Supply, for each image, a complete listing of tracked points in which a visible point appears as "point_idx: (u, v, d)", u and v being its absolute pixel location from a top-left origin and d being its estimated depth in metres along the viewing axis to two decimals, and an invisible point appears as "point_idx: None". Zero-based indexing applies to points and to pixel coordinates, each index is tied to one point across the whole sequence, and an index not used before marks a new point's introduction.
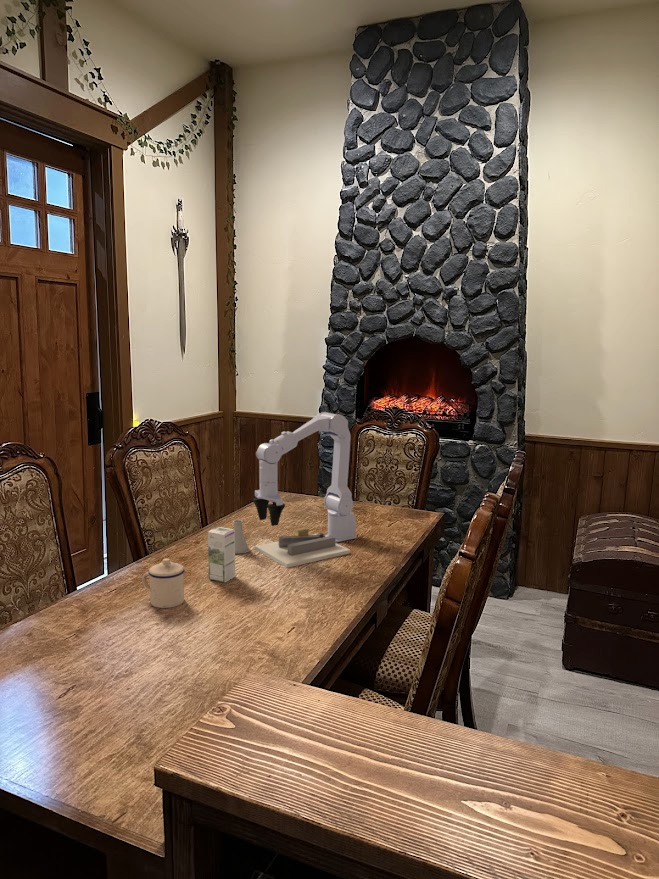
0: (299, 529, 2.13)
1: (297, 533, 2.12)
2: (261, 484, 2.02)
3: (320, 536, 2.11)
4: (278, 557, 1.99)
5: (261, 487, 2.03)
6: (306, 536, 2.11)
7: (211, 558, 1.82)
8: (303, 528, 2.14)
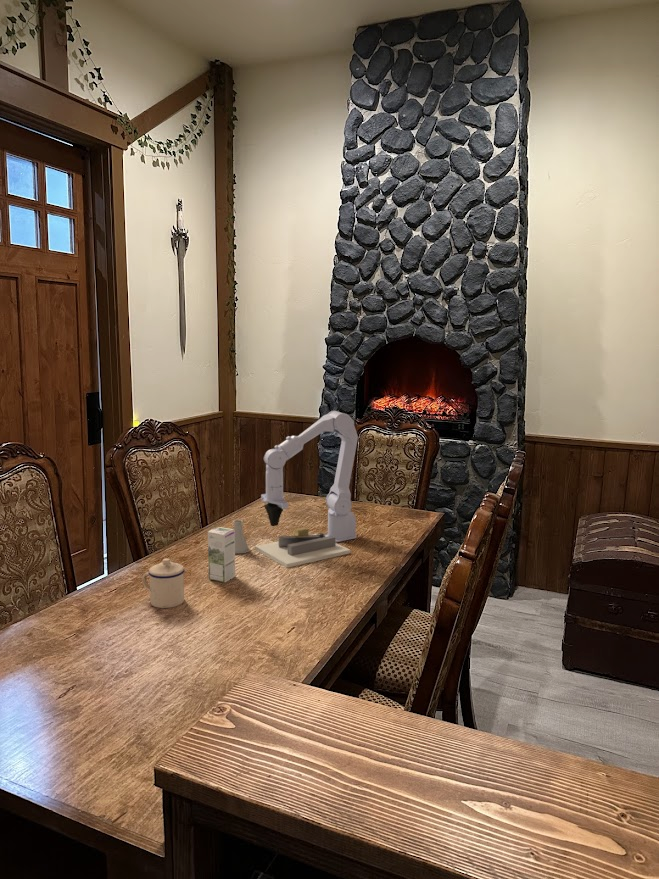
0: (299, 529, 2.13)
1: (297, 533, 2.12)
2: (267, 488, 2.10)
3: (320, 536, 2.11)
4: (278, 557, 1.99)
5: (267, 491, 2.11)
6: (306, 536, 2.11)
7: (211, 558, 1.82)
8: (303, 528, 2.14)
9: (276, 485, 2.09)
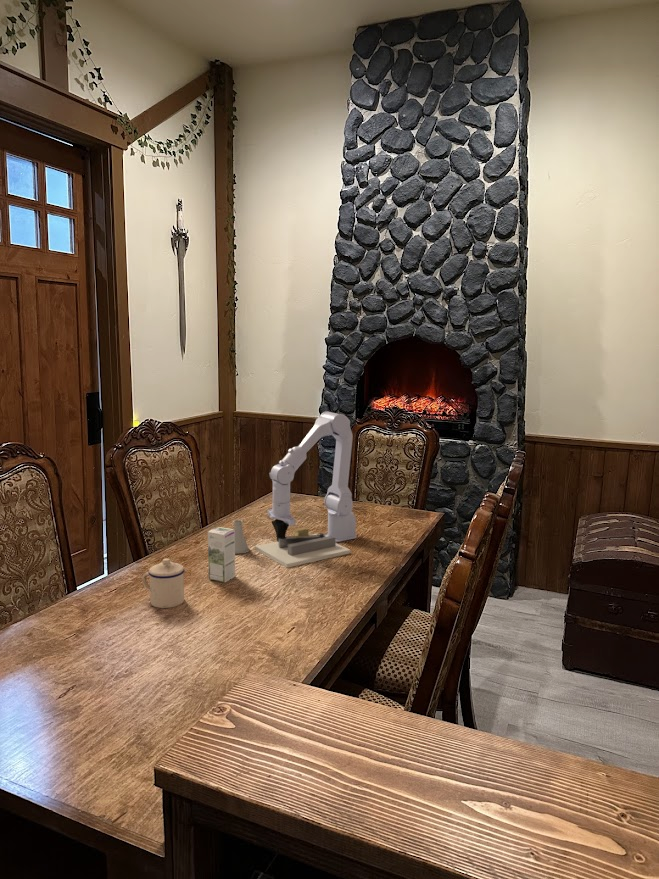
0: (299, 529, 2.13)
1: (297, 533, 2.12)
2: (274, 504, 2.07)
3: (320, 536, 2.11)
4: (278, 557, 1.99)
5: (274, 507, 2.07)
6: (306, 536, 2.10)
7: (211, 558, 1.82)
8: (303, 528, 2.14)
9: (285, 501, 2.07)
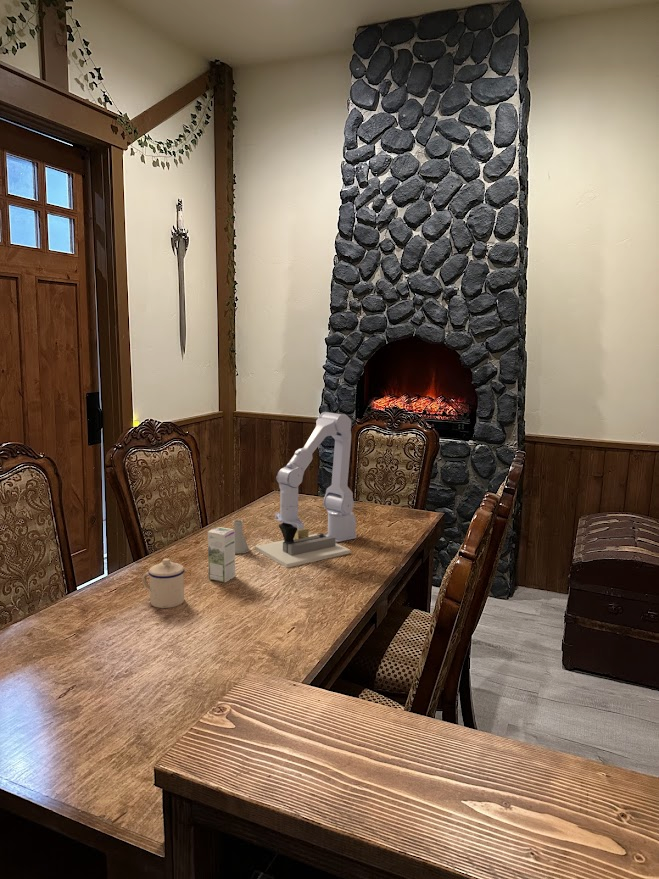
0: None
1: (297, 533, 2.12)
2: (282, 508, 2.03)
3: (321, 536, 2.11)
4: (278, 557, 1.99)
5: (282, 511, 2.04)
6: (308, 538, 2.09)
7: (211, 558, 1.82)
8: None
9: (294, 504, 2.03)
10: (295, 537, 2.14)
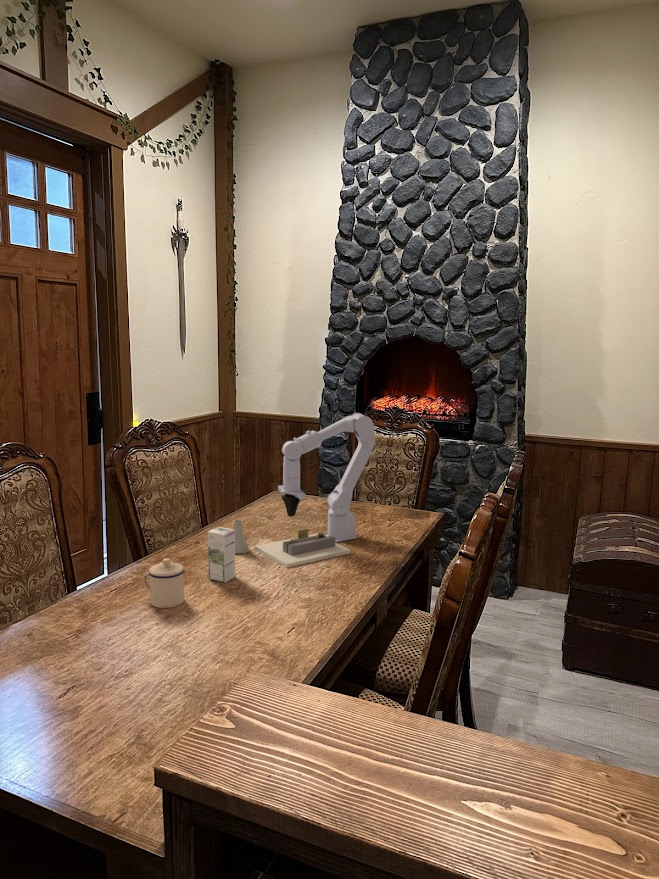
0: (299, 529, 2.13)
1: (297, 533, 2.12)
2: (285, 480, 2.14)
3: (321, 536, 2.11)
4: (278, 557, 1.99)
5: (285, 482, 2.15)
6: (308, 538, 2.09)
7: (211, 558, 1.82)
8: (303, 528, 2.14)
9: (292, 476, 2.13)
10: (295, 537, 2.14)
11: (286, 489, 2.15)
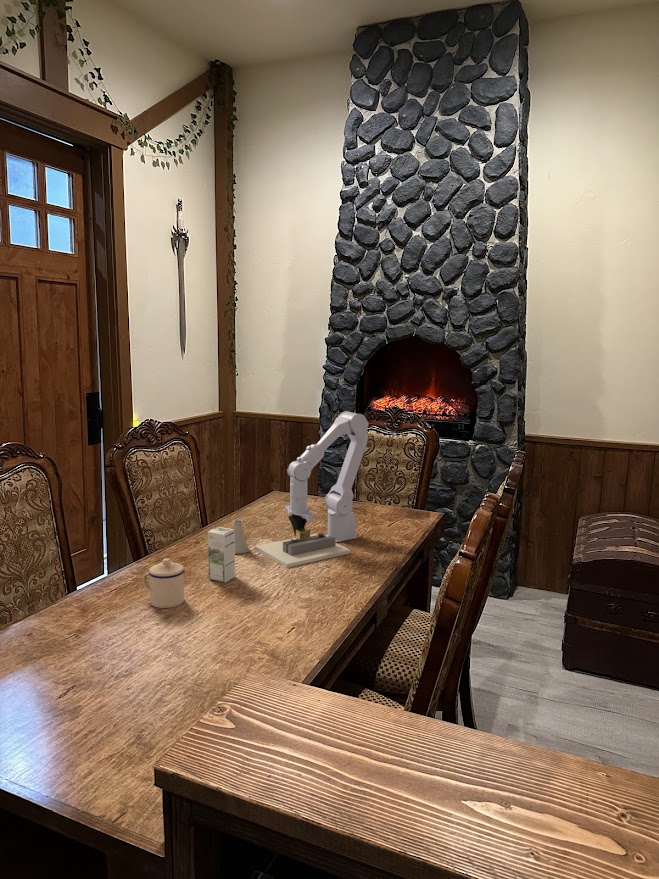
0: (301, 530, 2.12)
1: (299, 534, 2.12)
2: (292, 500, 2.12)
3: (321, 536, 2.11)
4: (278, 557, 1.99)
5: (292, 503, 2.12)
6: (308, 538, 2.09)
7: (211, 558, 1.82)
8: (305, 529, 2.13)
9: (302, 497, 2.11)
10: (297, 538, 2.13)
11: (293, 510, 2.12)
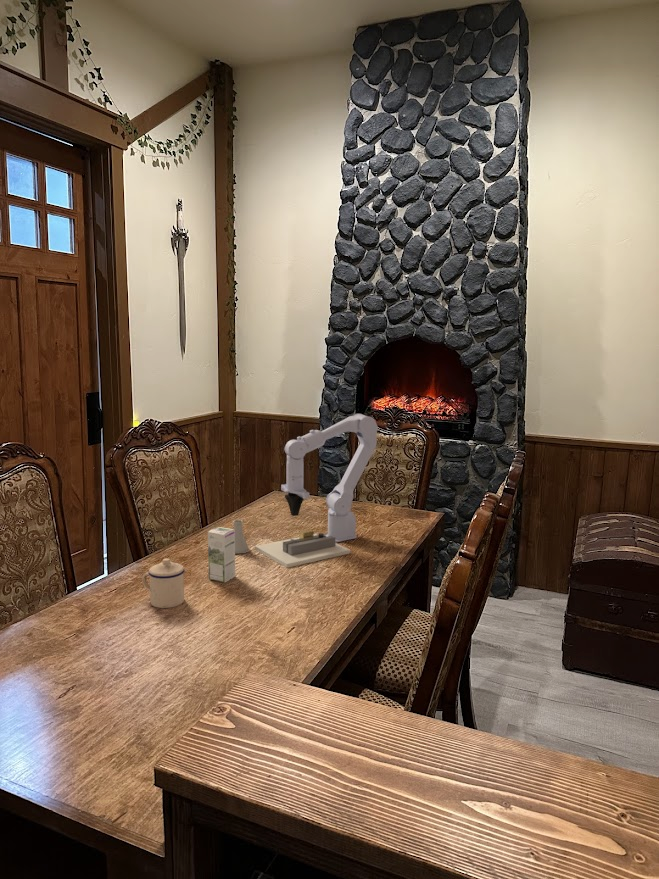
0: (304, 531, 2.11)
1: (302, 535, 2.10)
2: (288, 479, 2.13)
3: (321, 536, 2.11)
4: (278, 557, 1.99)
5: (288, 481, 2.13)
6: (308, 538, 2.09)
7: (211, 558, 1.82)
8: (308, 530, 2.12)
9: (297, 475, 2.12)
10: None
11: (289, 488, 2.13)
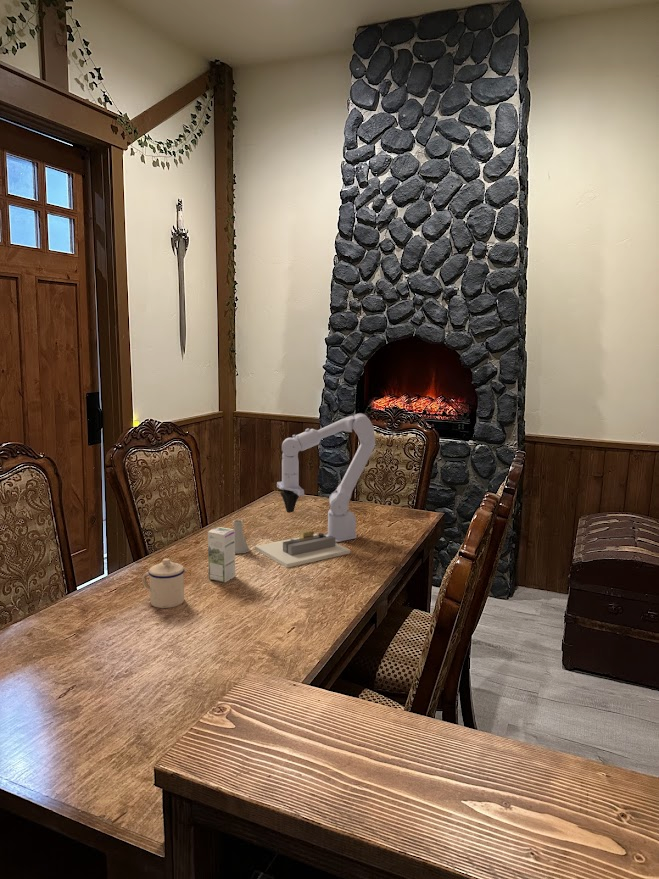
0: (304, 531, 2.11)
1: (302, 535, 2.10)
2: (283, 476, 2.17)
3: (321, 536, 2.11)
4: (278, 557, 1.99)
5: (283, 479, 2.17)
6: (308, 538, 2.09)
7: (211, 558, 1.82)
8: (308, 530, 2.12)
9: (289, 472, 2.16)
10: None
11: (285, 485, 2.17)
